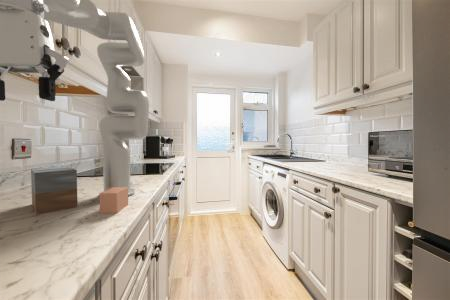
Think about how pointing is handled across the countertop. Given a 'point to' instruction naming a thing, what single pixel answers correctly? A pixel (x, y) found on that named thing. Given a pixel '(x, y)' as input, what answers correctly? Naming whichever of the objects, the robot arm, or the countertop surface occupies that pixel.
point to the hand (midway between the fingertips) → (21, 99)
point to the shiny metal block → (53, 189)
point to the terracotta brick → (113, 200)
